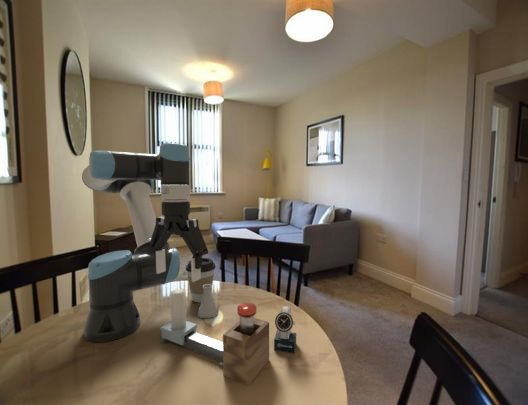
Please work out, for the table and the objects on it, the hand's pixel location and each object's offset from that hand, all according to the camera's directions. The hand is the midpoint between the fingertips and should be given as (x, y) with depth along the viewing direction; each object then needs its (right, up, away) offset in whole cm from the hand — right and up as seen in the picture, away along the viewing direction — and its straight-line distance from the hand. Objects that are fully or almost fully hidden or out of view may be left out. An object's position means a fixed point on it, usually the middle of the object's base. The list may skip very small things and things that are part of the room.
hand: (177, 276), depth 74 cm
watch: (+30, -19, -1) cm, 36 cm away
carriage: (0, -18, +1) cm, 18 cm away
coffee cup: (0, -17, +29) cm, 34 cm away
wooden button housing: (+20, -20, -9) cm, 30 cm away
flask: (+5, -18, +17) cm, 25 cm away
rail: (+6, -19, -2) cm, 20 cm away
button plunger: (+20, -11, -10) cm, 25 cm away
